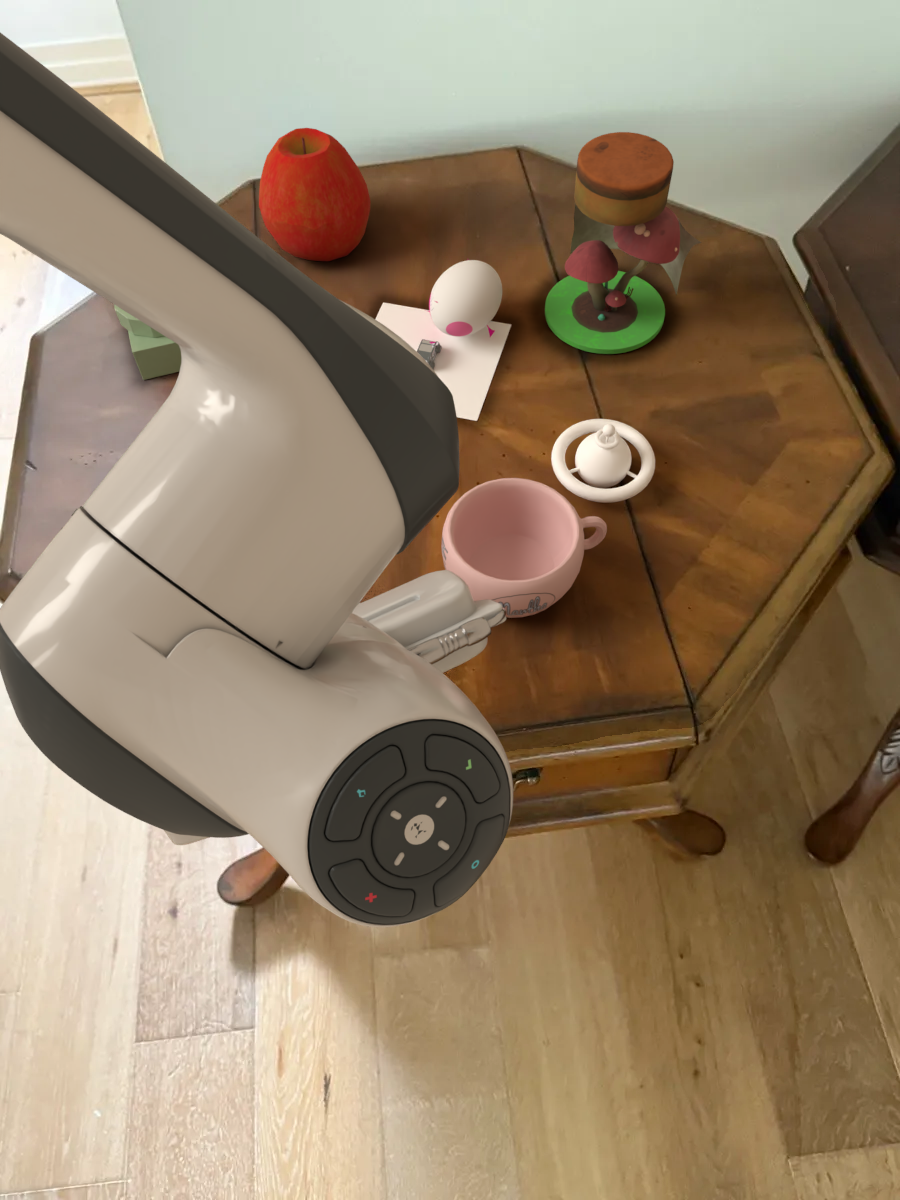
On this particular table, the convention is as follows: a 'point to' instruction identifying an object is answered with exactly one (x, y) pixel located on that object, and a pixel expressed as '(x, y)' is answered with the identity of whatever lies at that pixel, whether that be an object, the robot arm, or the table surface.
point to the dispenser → (150, 347)
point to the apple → (313, 196)
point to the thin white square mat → (451, 354)
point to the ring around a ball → (603, 460)
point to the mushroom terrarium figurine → (618, 246)
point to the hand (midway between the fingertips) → (279, 650)
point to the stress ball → (465, 298)
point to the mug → (517, 543)
